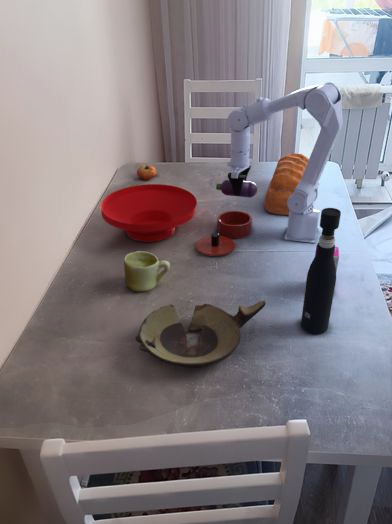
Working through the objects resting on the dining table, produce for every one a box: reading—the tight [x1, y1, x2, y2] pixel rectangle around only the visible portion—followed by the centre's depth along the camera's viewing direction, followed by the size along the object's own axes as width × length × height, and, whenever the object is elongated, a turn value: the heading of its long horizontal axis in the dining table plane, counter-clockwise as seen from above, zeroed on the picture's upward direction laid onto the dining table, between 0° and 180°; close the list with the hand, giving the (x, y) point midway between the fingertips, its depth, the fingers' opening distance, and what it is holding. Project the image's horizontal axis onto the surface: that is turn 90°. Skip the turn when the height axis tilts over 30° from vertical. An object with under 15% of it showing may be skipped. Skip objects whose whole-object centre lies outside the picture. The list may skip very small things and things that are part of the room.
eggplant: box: [215, 179, 258, 198], centre depth 155 cm, size 13×5×5 cm, turn 73°
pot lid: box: [195, 232, 236, 257], centre depth 147 cm, size 12×12×4 cm
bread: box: [263, 152, 309, 216], centre depth 172 cm, size 16×31×13 cm, turn 165°
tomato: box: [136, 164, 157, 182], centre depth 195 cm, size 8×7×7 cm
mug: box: [123, 250, 171, 292], centre depth 131 cm, size 12×10×10 cm
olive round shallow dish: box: [134, 300, 267, 368], centre depth 110 cm, size 22×30×8 cm
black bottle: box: [300, 207, 342, 336], centre depth 107 cm, size 6×6×30 cm
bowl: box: [100, 183, 198, 243], centre depth 156 cm, size 30×30×10 cm
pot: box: [216, 210, 253, 240], centre depth 156 cm, size 11×11×4 cm
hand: (239, 191), depth 156 cm, fingers closed on eggplant, 5 cm apart
